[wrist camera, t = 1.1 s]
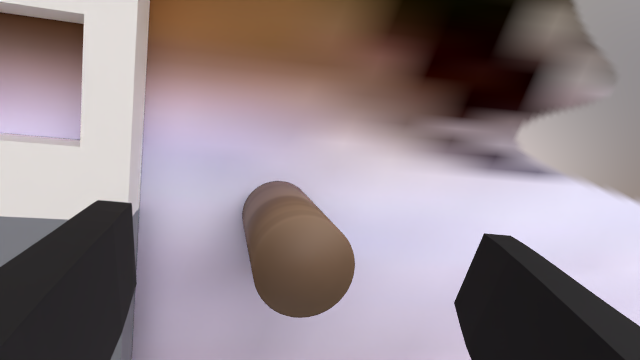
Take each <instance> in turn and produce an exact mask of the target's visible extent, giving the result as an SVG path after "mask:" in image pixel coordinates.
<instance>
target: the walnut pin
mask: <svg viewBox="0 0 640 360" xmlns="http://www.w3.org/2000/svg"><path fill="white" fill-rule="evenodd" d="M242 219H243V225H244V231H245V236H246V242H247V247H248V252H249V258H250V263H251V268H252V274H253V279H254V283H255V287H256V289H257V292H258V294H259V295H260V297H261V299H262V300H263V301H264V302H265V303H266V304H267V305H268V306H269V307H270V308H271V309H273V310H274V311H276V312H278V313H280V314H283V315H286V316H290V317H298V318H302V317H310V316H314V315H318V314H320V313H323V312H325V311H327V310H328V309H330V308H331V307H333V306H334V305H335V304H336V303H338V302H339V301H340V300H341V298H342V297H343V296H344V295H345V293H346V292H347V290H348V288H349V286H350V284H351V282H352V279H353V275H354V268H355V261H354V254H353V250H352V248H351V245H350V243H349V241H348V240H347V238H346V237H345V236H344V234H343V233H342V232H341V231H340V230H339V229H338V228H337V227H336V226H335V225H334V224H333V223H332V222H331V221H330V220H329V219H328V218H327V217H326V216H325V215H324V214H323V212H322V211H321V210H320V209H319V208H318V207H317V206H316V205H315V204H314V203H313V202H312V201H311V200H310V199H309V198H308V197H307V196H306V195H305V194H304V193H303V192H302V191H301V190H300V189H299V188H298V187H296V186H295V185H293V184H291V183H288V182H283V181H273V182H269V183H265V184H263V185H261V186H259V187H258V188H256V189H255V190H254V191H253V192H252V193H251V194H250V195H249V197H248V198H247V200H246V202H245V204H244V208H243V213H242Z"/></svg>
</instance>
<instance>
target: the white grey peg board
mask: <svg viewBox="0 0 640 360" xmlns="http://www.w3.org/2000/svg"><path fill="white" fill-rule="evenodd" d="M149 8H150V0H0V12H2V13H9V14H16V15H24V16H31V17H38V18H45V19H52V20H59V21H66V22H73V23H80V24H84V34H83V67H82V99H81V131H80V140H74V139H62V138H51V137H39V136H27V135H16V134H4V133H0V267H1V266H2V265H4V264H5V263H7V262H8V261H10V260H11V259H13V258H14V257H16V256H17V255H19V254H20V253H22V252H23V251H25V250H26V249H27V248H29V247H30V246H32V245H33V244H35V243H36V242H38V241H39V240H41V239H42V238H44V237H45V236H47V235H48V234H49V233H51V232H52V231H54V230H55V229H57V228H58V227H59V226H61V225H62V224H64V223H65V222H66V221H68V220H69V219H71V218H72V217H74V216H75V215H76V214H78V213H79V212H81V211H82V210H84V209H85V208H86V207H88V206H89V205H91V204H92V203H94V202H96V201H97V200H104V201H115V202H127V203H132V216H133V233H134V250H135V267H136V262H137V243H138V223H139V204H140V184H141V165H142V145H143V126H144V106H145V86H146V67H147V47H148V28H149ZM134 302H135V290H134V294H133V297H132V301H131V305H130V308H129V311H128V315H127V318H126V321H125V325H124V328H123V331H122V334H121V336H120V338H119V341H118V343H117V346H116V348H115V350H114V353H113V355H112V357H111V360H132V341H133V321H134Z"/></svg>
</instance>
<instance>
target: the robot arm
mask: <svg viewBox="0 0 640 360" xmlns="http://www.w3.org/2000/svg"><path fill="white" fill-rule="evenodd" d="M135 287H136V267H135V250H134V233H133V216H132V203H127V202H115V201H104V200H97V201H96V202H94V203H92V204H91V205H89V206H88V207H86V208H85V209H84V210H82V211H81V212H79V213H78V214H76V215H75V216H74V217H72V218H71V219H69V220H68V221H66V222H65V223H64V224H62V225H61V226H59V227H58V228H57V229H55V230H54V231H52V232H51V233H49V234H48V235H47V236H45V237H44V238H42V239H41V240H39V241H38V242H36V243H35V244H33V245H32V246H30V247H29V248H27V249H26V250H25V251H23V252H22V253H20V254H19V255H17V256H16V257H14V258H13V259H11V260H10V261H8V262H7V263H5V264H4V265H2V266H1V267H0V360H111V357H112V355H113V353H114V350H115V348H116V346H117V343H118V341H119V338H120V336H121V334H122V331H123V328H124V325H125V321H126V318H127V315H128V311H129V308H130V305H131V301H132V297H133V294H134V290H135ZM454 304H455V308H456V312H457V315H458V319H459V323H460V327H461V330H462V334H463V337H464V341H465V344H466V347H467V350H468V352H469V355H470V357H471V359H472V360H640V326H639V325H637V324H636V323H634V322H633V321H631V320H630V319H629V318H627V317H626V316H624V315H623V314H621V313H620V312H618V311H617V310H616V309H614V308H613V307H611V306H610V305H609V304H607V303H606V302H604V301H603V300H602V299H600V298H599V297H597V296H596V295H595V294H593V293H592V292H590V291H589V290H588V289H586V288H585V287H584V286H582V285H581V284H579V283H578V282H577V281H575V280H574V279H573V278H571V277H570V276H568V275H567V274H566V273H564V272H563V271H562V270H560V269H559V268H557V267H556V266H555V265H553V264H552V263H551V262H549V261H548V260H546V259H545V258H544V257H542V256H541V255H539V254H538V253H536V252H535V251H534V250H532V249H531V248H529V247H528V246H526V245H525V244H523V243H521V242H520V241H518V240H517V239H515V238H513V237H511V236H506V235H495V234H484V235H483V237H482V240H481V242H480V244H479V247H478V249H477V251H476V254H475V256H474V258H473V260H472V263H471V265H470V267H469V270H468V272H467V274H466V277H465V279H464V281H463V284H462V286H461V288H460V290H459V293H458V295H457V297H456V300H455V302H454Z"/></svg>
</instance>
